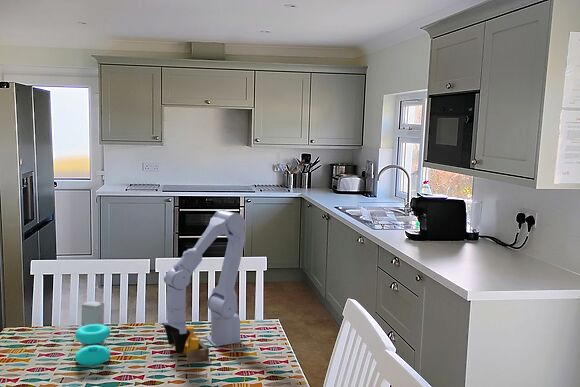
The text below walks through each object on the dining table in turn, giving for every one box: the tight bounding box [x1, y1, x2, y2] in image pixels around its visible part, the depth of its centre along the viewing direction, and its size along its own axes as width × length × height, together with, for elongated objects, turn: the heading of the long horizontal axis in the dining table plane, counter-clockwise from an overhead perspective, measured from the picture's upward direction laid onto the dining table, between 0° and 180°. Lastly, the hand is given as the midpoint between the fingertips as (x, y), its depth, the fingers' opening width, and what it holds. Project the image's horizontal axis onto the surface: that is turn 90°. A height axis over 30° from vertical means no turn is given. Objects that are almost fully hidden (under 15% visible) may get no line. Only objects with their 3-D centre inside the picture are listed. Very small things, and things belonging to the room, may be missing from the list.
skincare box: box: [80, 300, 105, 327], centre depth 183 cm, size 6×4×12 cm
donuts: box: [74, 324, 111, 367], centre depth 166 cm, size 10×10×10 cm
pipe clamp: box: [182, 325, 200, 356], centre depth 173 cm, size 12×4×6 cm, turn 19°
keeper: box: [186, 334, 210, 364], centre depth 176 cm, size 7×19×4 cm, turn 29°
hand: (175, 348), depth 174 cm, fingers open, 7 cm apart
